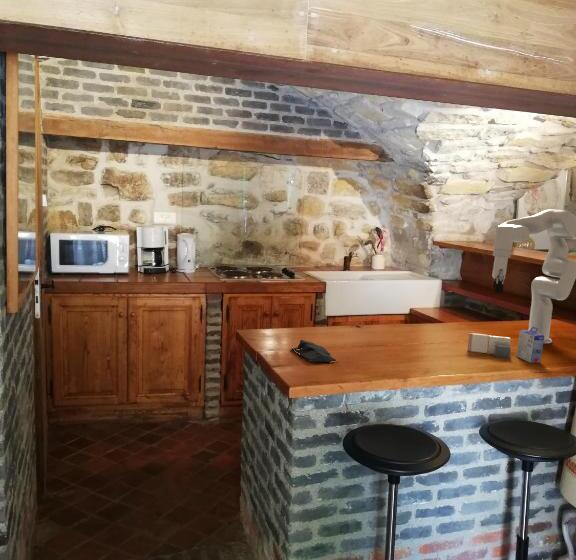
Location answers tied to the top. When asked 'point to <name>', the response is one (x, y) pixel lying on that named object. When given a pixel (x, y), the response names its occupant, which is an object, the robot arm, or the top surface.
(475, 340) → the grey flat block
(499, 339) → the ticket holder
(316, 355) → the dark fabric pouch
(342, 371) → the top surface
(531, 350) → the ink cartridge box
